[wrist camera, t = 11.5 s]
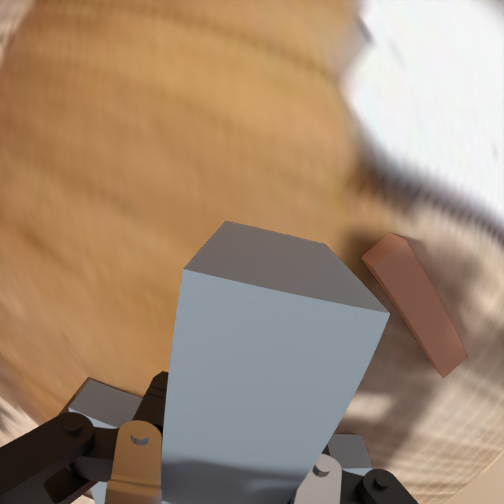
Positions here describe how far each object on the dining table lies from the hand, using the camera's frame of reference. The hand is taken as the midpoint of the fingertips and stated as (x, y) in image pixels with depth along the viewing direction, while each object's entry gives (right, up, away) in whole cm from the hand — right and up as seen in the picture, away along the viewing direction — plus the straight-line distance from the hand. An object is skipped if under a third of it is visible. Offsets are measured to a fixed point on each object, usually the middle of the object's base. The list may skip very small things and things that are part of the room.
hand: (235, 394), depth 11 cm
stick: (+11, +2, +6) cm, 12 cm away
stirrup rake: (-1, -4, +2) cm, 5 cm away
